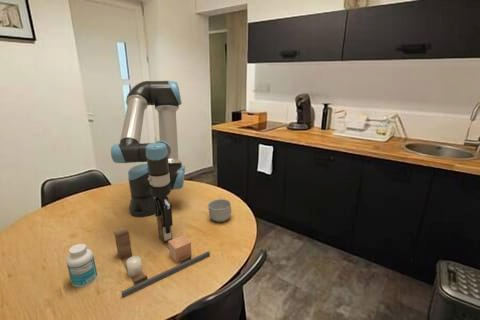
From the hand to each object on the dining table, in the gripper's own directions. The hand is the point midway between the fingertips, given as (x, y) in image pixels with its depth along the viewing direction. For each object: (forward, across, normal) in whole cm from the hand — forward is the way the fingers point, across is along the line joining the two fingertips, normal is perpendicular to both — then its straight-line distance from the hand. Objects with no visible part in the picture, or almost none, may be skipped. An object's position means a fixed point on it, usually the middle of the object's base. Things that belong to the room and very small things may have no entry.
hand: (165, 236), depth 107 cm
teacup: (+3, -2, +29) cm, 29 cm away
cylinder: (+1, +12, -16) cm, 20 cm away
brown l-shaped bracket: (+3, +8, -16) cm, 18 cm away
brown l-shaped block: (+3, +8, 0) cm, 8 cm away
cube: (+1, +14, 0) cm, 14 cm away
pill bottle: (+3, +4, -30) cm, 30 cm away
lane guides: (+3, +8, -7) cm, 11 cm away
